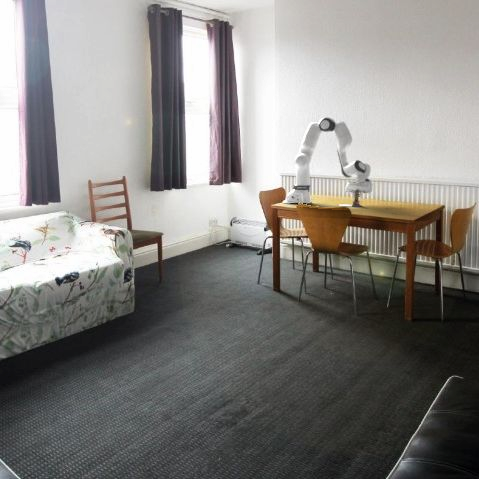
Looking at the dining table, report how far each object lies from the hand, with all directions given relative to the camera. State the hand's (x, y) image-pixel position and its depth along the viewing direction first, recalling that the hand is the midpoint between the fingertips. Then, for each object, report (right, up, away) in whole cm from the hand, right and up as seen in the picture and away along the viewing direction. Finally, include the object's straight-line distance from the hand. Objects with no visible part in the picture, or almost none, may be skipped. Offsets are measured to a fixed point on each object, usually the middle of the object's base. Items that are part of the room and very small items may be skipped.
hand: (356, 196), depth 431 cm
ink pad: (0, -7, +2) cm, 7 cm away
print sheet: (-7, -7, +5) cm, 11 cm away
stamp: (0, -6, +2) cm, 6 cm away
